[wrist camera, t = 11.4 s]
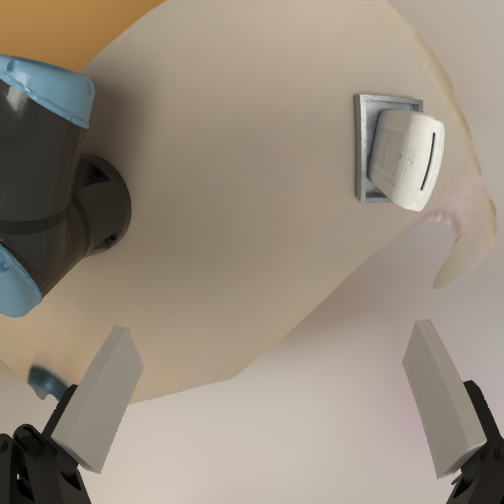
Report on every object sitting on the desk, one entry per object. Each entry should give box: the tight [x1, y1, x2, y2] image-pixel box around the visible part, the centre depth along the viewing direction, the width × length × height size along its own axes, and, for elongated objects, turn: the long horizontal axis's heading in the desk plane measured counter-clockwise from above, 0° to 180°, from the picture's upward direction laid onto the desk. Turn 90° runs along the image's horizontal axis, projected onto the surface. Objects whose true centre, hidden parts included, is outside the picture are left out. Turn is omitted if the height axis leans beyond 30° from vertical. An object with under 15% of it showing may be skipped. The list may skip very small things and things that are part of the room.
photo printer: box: [367, 109, 445, 211], centre depth 29 cm, size 10×4×12 cm, turn 172°
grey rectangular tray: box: [354, 94, 423, 203], centre depth 33 cm, size 8×13×3 cm, turn 5°
